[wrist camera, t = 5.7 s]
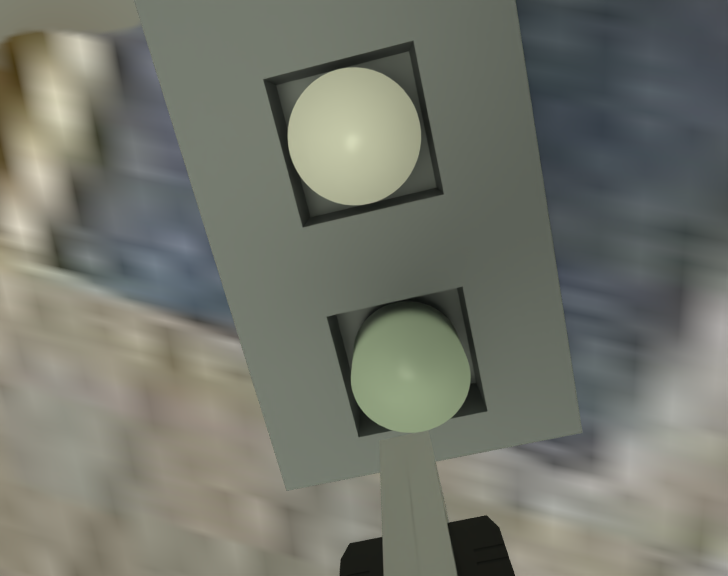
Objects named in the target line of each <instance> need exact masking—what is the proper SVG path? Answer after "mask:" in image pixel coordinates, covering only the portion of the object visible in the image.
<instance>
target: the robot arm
mask: <svg viewBox="0 0 728 576" xmlns="http://www.w3.org/2000/svg"><path fill="white" fill-rule="evenodd" d="M379 444H380V476H381V507H382V537H380V538H375V539H370V540H365V541H360V542H355V543H350V544H349V546H348V547H347V549H346V551H345V553H344V555H343V556H342V558H341V563H340V576H515V574H514V571H513V568H512V565H511V562H510V560H509V556H508V553H507V550H506V547H505V544H504V541H503V538H502V535H501V531H500V528H499V527H498V526H497V525H496V524H495V523H494V522H493V521H492V520H491V519H490V518H489V517H488V516H487V515H486V516H480V517H475V518H470V519H465V520H460V521H455V522H450V523H449V520H448V515H447V510H446V505H445V501H444V497H443V492H442V488H441V484H440V479H439V475H438V471H437V466H436V462H435V458H434V453H433V449H432V445H431V440H430V436H429V432H428V431H423V432H418V433H413V434H408V435H404V436H399V437H394V438H389V439H384V440H379Z"/></svg>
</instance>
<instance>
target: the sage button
mask: <svg viewBox="0 0 728 576" xmlns="http://www.w3.org/2000/svg"><path fill="white" fill-rule="evenodd" d="M470 378H471V373H470V366H469V363H468V359H467V357H466V354H465V352H464V349H463V347H462V344H461V342H460V339H459V337H458V334H457V332H456V330H455V328H454V326H453V325H452V323H451V322H450V321H449V319H448V318H447V317H446V316H445V315H444V314H442V313H441V312H440V311H438V310H437V309H435V308H433V307H431V306H429V305H426V304H423V303H419V302H412V301H402V302H396V303H392V304H389V305H386V306H384V307H382V308H380V309H378V310H377V311H375V312H374V313H373V314H371V315H370V316H369V317H368V318H367V319H366V320H365V321H364V323H363V324H362V325H361V327H360V329H359V331H358V333H357V336H356V338H355V343H354V350H353V360H352V370H351V386H352V391H353V394H354V397H355V399H356V401H357V403H358V405H359V407H360V408H361V409H362V411H363V412H364V413H365V414H366V415H367V416H368V417H369V418H370V419H371V420H373V421H374V422H376V423H377V424H379V425H381V426H383V427H385V428H387V429H390V430H393V431H398V432H405V433H416V432H423V431H427V430H430V429H433V428H435V427H438V426H440V425H441V424H443V423H445V422H446V421H448V420H449V419H450V418H451V417H452V416H454V415H455V414H456V413H457V411H458V410H459V409H460V408H461V406H462V404H463V403H464V401H465V399H466V397H467V394H468V391H469V387H470Z"/></svg>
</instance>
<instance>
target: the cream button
mask: <svg viewBox="0 0 728 576" xmlns="http://www.w3.org/2000/svg"><path fill="white" fill-rule="evenodd" d="M420 145H421V128H420V122H419V118H418V114H417V112H416V109H415V107H414V105H413V103H412V101H411V99H410V98H409V96H408V95H407V94H406V92H405V91H404V90H403V89H402V88H401V87H400V86H399V85H398V84H397V83H396V82H395V81H393V80H392V79H391V78H389V77H387V76H385V75H384V74H382V73H379V72H377V71H374V70H370V69H366V68H358V67H351V68H342V69H337V70H334V71H331V72H329V73H327V74H325V75H323V76H321V77H319V78H318V79H316V80H315V81H314V82H312V83H311V84H310V85H309V86H308V87H307V88H306V89H305V90H304V92H303V93H302V94H301V95H300V97H299V99H298V100H297V102H296V104H295V106H294V108H293V110H292V113H291V116H290V120H289V125H288V147H289V152H290V156H291V159H292V162H293V164H294V166H295V168H296V170H297V172H298V174H299V175H300V177H301V178H302V179H303V181H304V182H305V183H306V184H307V185H308V186H309V187H310V188H311V189H312V190H313V191H315V192H316V193H317V194H319V195H320V196H322V197H324V198H326V199H328V200H330V201H333V202H336V203H340V204H344V205H365V204H370V203H373V202H377V201H379V200H381V199H384V198H386V197H387V196H389V195H390V194H392V193H393V192H395V191H396V190H397V189H398V188H399V187H400V186H401V185H402V184H403V183H404V182H405V181H406V180H407V178H408V177H409V175H410V174H411V172H412V170H413V168H414V167H415V164H416V162H417V159H418V156H419V151H420Z"/></svg>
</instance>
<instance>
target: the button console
mask: <svg viewBox="0 0 728 576" xmlns="http://www.w3.org/2000/svg"><path fill="white" fill-rule="evenodd" d="M134 2H135V5H136V8H137V12H138V15H139V18H140V21H141V25H142V28H143V31H144V34H145V37H146V41H147V44H148V47H149V50H150V53H151V57H152V60H153V63H154V66H155V70H156V73H157V76H158V79H159V82H160V86H161V89H162V92H163V95H164V98H165V102H166V105H167V108H168V111H169V115H170V118H171V121H172V124H173V127H174V131H175V134H176V137H177V140H178V143H179V147H180V150H181V153H182V156H183V160H184V163H185V166H186V169H187V172H188V176H189V179H190V182H191V185H192V188H193V192H194V195H195V198H196V201H197V205H198V208H199V211H200V214H201V217H202V221H203V224H204V227H205V230H206V234H207V237H208V240H209V243H210V246H211V250H212V253H213V256H214V259H215V262H216V266H217V269H218V272H219V275H220V279H221V282H222V285H223V288H224V291H225V295H226V298H227V301H228V304H229V307H230V311H231V314H232V317H233V320H234V324H235V327H236V330H237V333H238V336H239V340H240V343H241V346H242V349H243V352H244V356H245V359H246V362H247V365H248V369H249V372H250V375H251V378H252V381H253V385H254V388H255V391H256V394H257V397H258V401H259V404H260V407H261V410H262V414H263V417H264V420H265V423H266V426H267V430H268V433H269V436H270V439H271V442H272V446H273V449H274V452H275V455H276V459H277V462H278V465H279V468H280V471H281V475H282V478H283V481H284V484H285V487H286V491H289V490H294V489H299V488H304V487H309V486H314V485H319V484H324V483H329V482H335V481H340V480H345V479H350V478H355V477H360V476H365V475H370V474H375V473H380V444H379V440H384V439H389V438H394V437H399V436H404V435H408V434H413V433H405V432H398V431H393V430H390V429H387V428H385V427H383V426H381V425H379V424H377V423H376V422H374V421H373V420H371V419H370V418H369V417H368V416H367V415H366V414H365V413H364V412H363V411H362V409H361V408H360V407H359V405H358V403H357V401H356V399H355V397H354V394H353V391H352V386H351V370H352V360H353V350H354V343H355V338H356V336H357V333H358V331H359V329H360V327H361V325H362V324H363V323H364V321H365V320H366V319H367V318H368V317H369V316H370V315H371V314H373V313H374V312H375V311H377V310H378V309H380V308H382V307H384V306H386V305H389V304H392V303H396V302H402V301H412V302H419V303H423V304H426V305H429V306H431V307H433V308H435V309H437V310H438V311H440V312H441V313H442V314H444V315H445V316H446V317H447V318H448V319H449V321H450V322H451V323H452V325H453V326H454V328H455V330H456V332H457V334H458V337H459V339H460V342H461V344H462V347H463V349H464V352H465V354H466V357H467V359H468V363H469V366H470V373H471V378H470V387H469V391H468V394H467V397H466V399H465V401H464V403H463V404H462V406H461V408H460V409H459V410H458V411H457V413H456V414H455V415H454V416H452V417H451V418H450V419H449V420H448V421H446V422H445V423H443V424H441V425H440V426H438V427H435V428H433V429H430V430H427V431H428V432H429V436H430V440H431V445H432V449H433V453H434V458H435V462H436V461H441V460H446V459H451V458H456V457H461V456H467V455H472V454H477V453H482V452H487V451H492V450H497V449H502V448H507V447H512V446H517V445H522V444H527V443H533V442H538V441H543V440H548V439H553V438H558V437H563V436H568V435H573V434H578V433H582V427H581V421H580V414H579V408H578V401H577V395H576V389H575V382H574V376H573V369H572V363H571V356H570V350H569V343H568V337H567V330H566V324H565V318H564V311H563V305H562V298H561V292H560V285H559V279H558V272H557V266H556V259H555V253H554V246H553V240H552V234H551V227H550V221H549V214H548V208H547V201H546V195H545V188H544V182H543V175H542V169H541V163H540V156H539V150H538V143H537V137H536V130H535V124H534V117H533V111H532V104H531V98H530V91H529V85H528V79H527V72H526V66H525V59H524V53H523V46H522V40H521V33H520V27H519V20H518V14H517V8H516V1H515V0H134ZM351 67H358V68H366V69H370V70H374V71H377V72H379V73H382V74H384V75H385V76H387V77H389V78H391V79H392V80H393V81H395V82H396V83H397V84H398V85H399V86H400V87H401V88H402V89H403V90H404V91H405V92H406V94H407V95H408V96H409V98H410V99H411V101H412V103H413V105H414V107H415V109H416V112H417V114H418V118H419V122H420V128H421V145H420V151H419V156H418V159H417V162H416V164H415V167H414V168H413V170H412V172H411V174H410V175H409V177H408V178H407V180H406V181H405V182H404V183H403V184H402V185H401V186H400V187H399V188H398V189H397V190H396V191H395V192H393V193H392V194H390V195H389V196H387V197H386V198H384V199H381V200H379V201H377V202H373V203H370V204H365V205H344V204H340V203H336V202H333V201H330V200H328V199H326V198H324V197H322V196H320V195H319V194H317V193H316V192H315V191H313V190H312V189H311V188H310V187H309V186H308V185H307V184H306V183H305V182H304V181H303V179H302V178H301V177H300V175H299V174H298V172H297V170H296V168H295V166H294V164H293V162H292V159H291V156H290V152H289V147H288V125H289V120H290V116H291V113H292V110H293V108H294V106H295V104H296V102H297V100H298V99H299V97H300V95H301V94H302V93H303V92H304V90H305V89H306V88H307V87H308V86H309V85H310V84H311V83H312V82H314V81H315V80H316V79H318V78H319V77H321V76H323V75H325V74H327V73H329V72H331V71H334V70H337V69H342V68H351ZM416 433H418V432H416Z"/></svg>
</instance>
